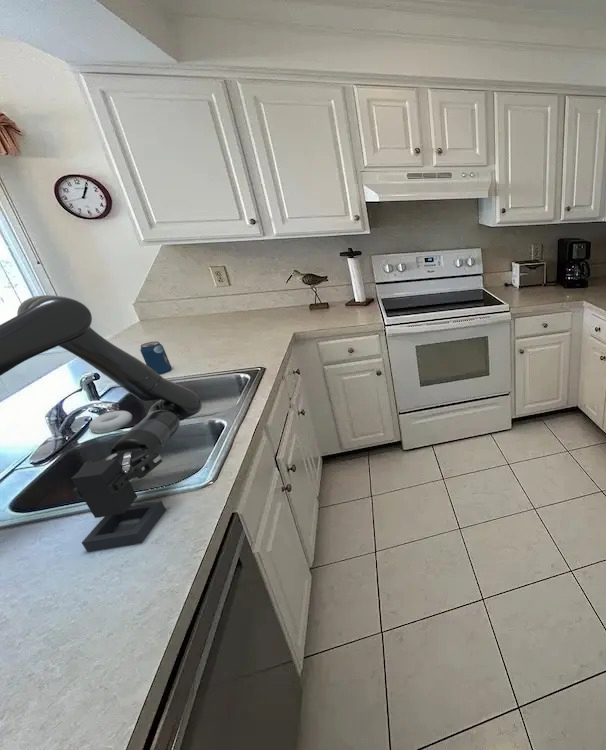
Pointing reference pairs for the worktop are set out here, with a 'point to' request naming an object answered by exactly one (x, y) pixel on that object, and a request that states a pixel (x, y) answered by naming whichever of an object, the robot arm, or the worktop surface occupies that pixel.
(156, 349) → the soda can
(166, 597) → the worktop surface
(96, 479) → the dark matte cube
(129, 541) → the dark square frame
